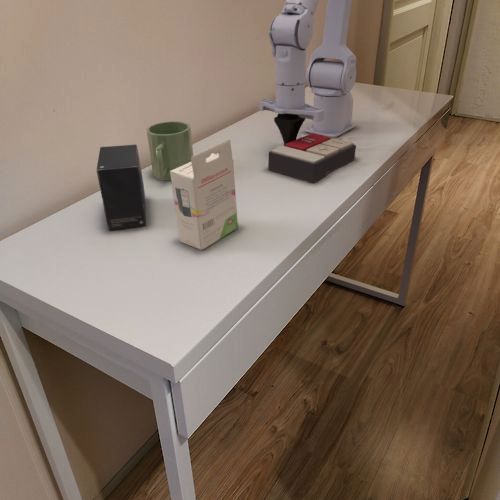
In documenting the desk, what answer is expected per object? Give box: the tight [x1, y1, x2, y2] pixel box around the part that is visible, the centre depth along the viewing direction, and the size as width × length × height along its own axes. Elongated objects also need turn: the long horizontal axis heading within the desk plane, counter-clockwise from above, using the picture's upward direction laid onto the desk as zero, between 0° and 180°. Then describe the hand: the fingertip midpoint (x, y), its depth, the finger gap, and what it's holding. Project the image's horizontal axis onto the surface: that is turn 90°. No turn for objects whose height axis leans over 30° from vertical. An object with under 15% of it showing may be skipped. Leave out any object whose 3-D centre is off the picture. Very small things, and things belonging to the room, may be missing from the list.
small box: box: [96, 144, 147, 231], centre depth 82 cm, size 11×6×10 cm, turn 12°
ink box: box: [170, 138, 239, 251], centre depth 74 cm, size 9×5×15 cm, turn 141°
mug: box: [146, 120, 194, 181], centre depth 96 cm, size 11×8×9 cm
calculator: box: [267, 133, 357, 183], centre depth 99 cm, size 11×4×15 cm
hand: (289, 149), depth 104 cm, fingers closed
